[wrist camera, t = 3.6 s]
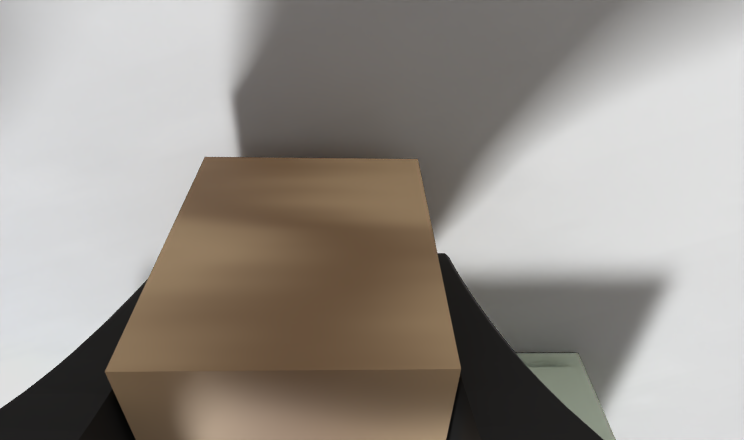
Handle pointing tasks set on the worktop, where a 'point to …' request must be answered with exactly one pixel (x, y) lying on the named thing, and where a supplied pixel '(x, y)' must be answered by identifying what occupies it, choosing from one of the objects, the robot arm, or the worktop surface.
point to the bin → (570, 387)
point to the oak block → (293, 309)
